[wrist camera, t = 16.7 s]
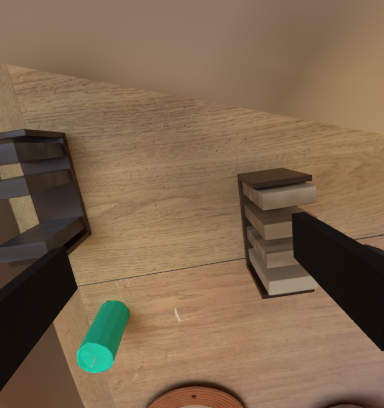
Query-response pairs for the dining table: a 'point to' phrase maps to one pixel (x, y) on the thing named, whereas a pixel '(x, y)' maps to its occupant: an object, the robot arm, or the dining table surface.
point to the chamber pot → (346, 406)
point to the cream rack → (272, 217)
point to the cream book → (282, 276)
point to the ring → (196, 398)
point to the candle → (103, 338)
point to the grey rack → (42, 195)
